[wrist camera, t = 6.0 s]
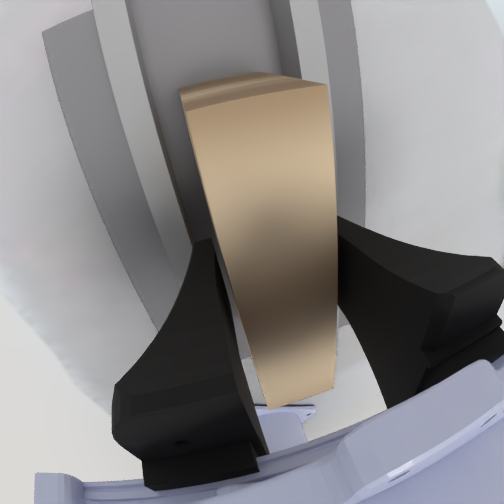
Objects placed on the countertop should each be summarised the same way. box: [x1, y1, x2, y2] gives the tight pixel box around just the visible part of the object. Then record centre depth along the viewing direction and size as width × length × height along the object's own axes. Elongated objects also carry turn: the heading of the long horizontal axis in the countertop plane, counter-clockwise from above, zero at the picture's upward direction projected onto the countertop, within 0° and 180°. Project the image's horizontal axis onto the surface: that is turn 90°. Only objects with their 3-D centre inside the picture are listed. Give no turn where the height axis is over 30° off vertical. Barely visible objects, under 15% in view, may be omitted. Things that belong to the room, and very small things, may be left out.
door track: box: [42, 0, 365, 359], centre depth 14 cm, size 20×12×3 cm, turn 10°
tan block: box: [178, 71, 338, 410], centre depth 12 cm, size 12×3×6 cm, turn 10°
